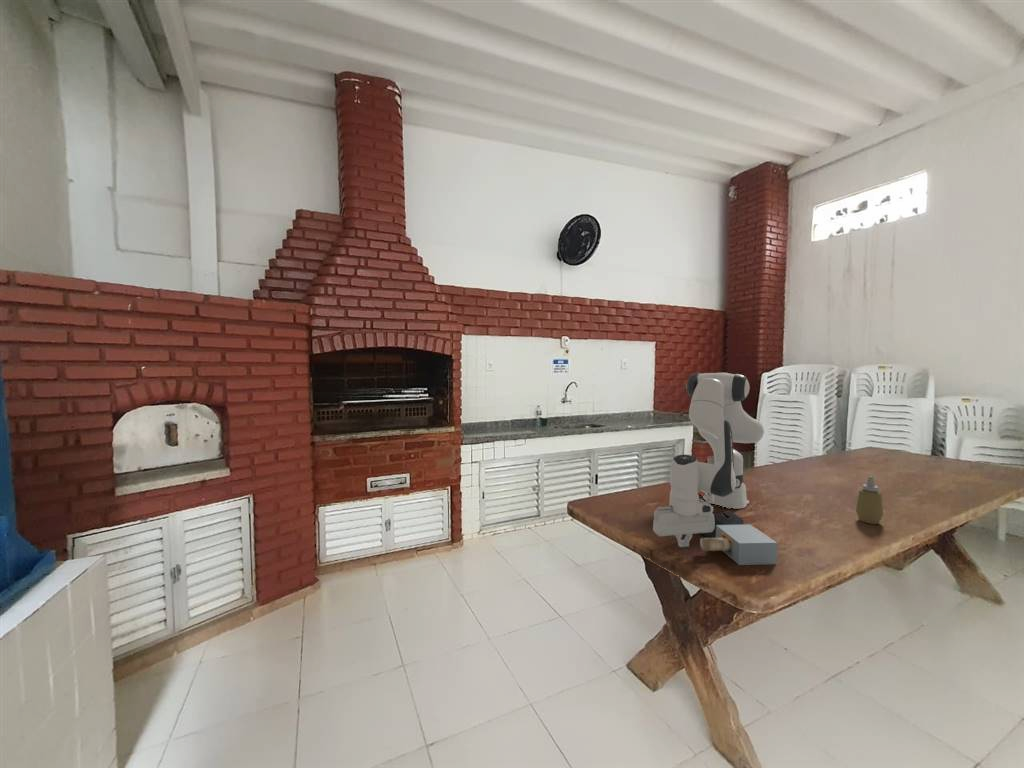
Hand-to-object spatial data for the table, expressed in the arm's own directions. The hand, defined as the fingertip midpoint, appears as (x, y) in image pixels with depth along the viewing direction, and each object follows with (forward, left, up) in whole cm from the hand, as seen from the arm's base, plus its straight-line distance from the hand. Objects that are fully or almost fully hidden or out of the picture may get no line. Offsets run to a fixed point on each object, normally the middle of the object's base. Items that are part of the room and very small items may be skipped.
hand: (683, 546), depth 134 cm
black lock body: (-21, +22, -4) cm, 31 cm away
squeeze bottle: (-24, +84, -3) cm, 88 cm away
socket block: (0, +20, -3) cm, 21 cm away
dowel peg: (0, +12, -1) cm, 13 cm away
